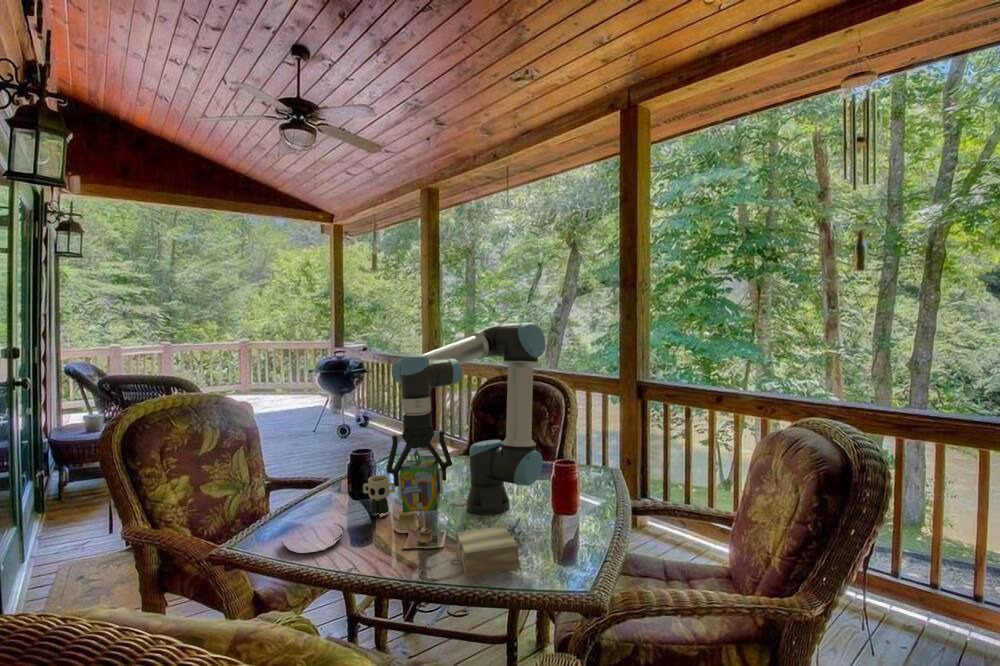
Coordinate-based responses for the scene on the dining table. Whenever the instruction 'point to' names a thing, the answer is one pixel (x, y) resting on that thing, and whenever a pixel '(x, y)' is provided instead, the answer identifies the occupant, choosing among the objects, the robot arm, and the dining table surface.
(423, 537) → the dessert
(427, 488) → the chalk box
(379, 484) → the character mug
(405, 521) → the hand bell
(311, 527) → the dining table surface
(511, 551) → the birch block
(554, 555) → the dining table surface
